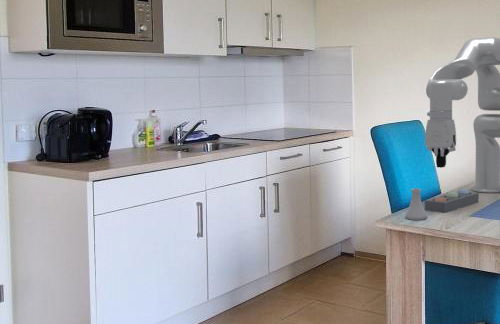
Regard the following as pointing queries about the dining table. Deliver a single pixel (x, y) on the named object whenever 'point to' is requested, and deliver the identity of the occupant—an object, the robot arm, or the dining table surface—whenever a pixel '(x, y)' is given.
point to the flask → (416, 207)
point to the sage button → (452, 194)
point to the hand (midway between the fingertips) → (441, 166)
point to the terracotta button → (440, 199)
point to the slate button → (463, 191)
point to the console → (451, 202)
